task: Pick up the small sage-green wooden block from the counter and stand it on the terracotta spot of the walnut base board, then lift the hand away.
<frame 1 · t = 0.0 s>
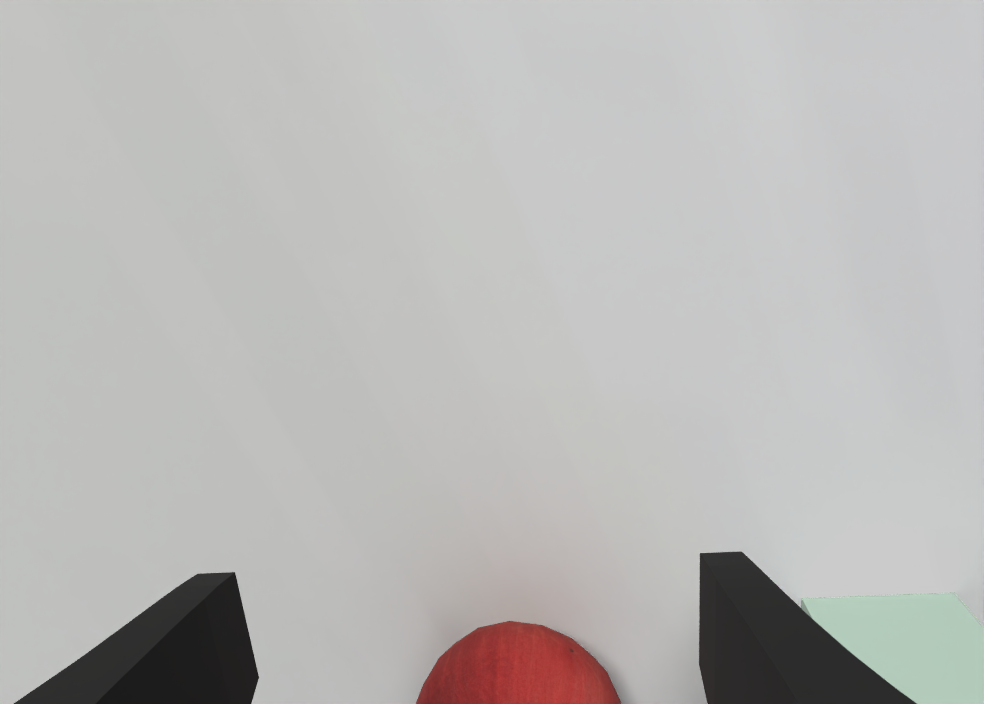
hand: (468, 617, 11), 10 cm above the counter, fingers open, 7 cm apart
onion: (519, 638, 24), on the counter
sage block: (871, 654, 23), on the counter
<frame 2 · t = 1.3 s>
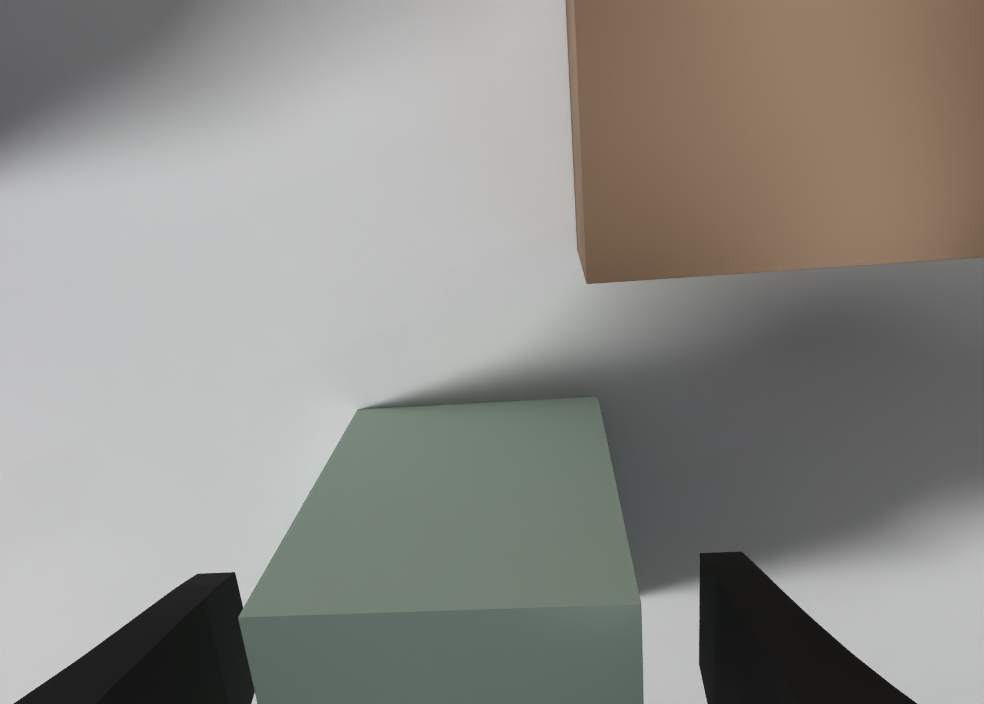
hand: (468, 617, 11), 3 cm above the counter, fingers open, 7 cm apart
sage block: (486, 508, 15), on the counter
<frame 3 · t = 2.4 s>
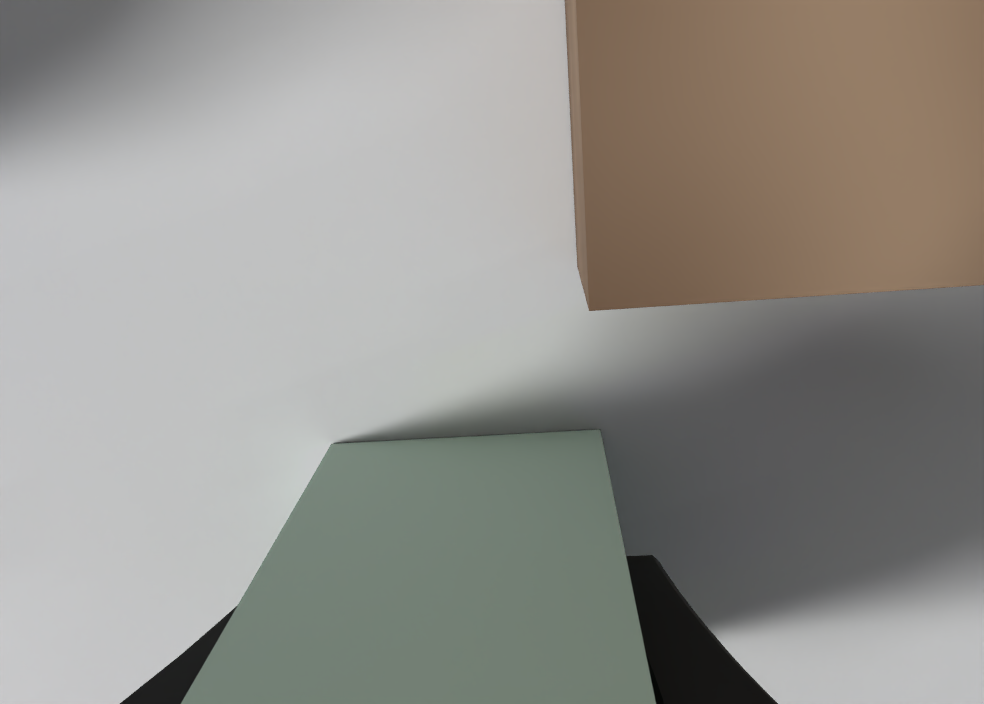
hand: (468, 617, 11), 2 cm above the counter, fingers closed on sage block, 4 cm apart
sage block: (476, 552, 13), on the counter, touching gripper
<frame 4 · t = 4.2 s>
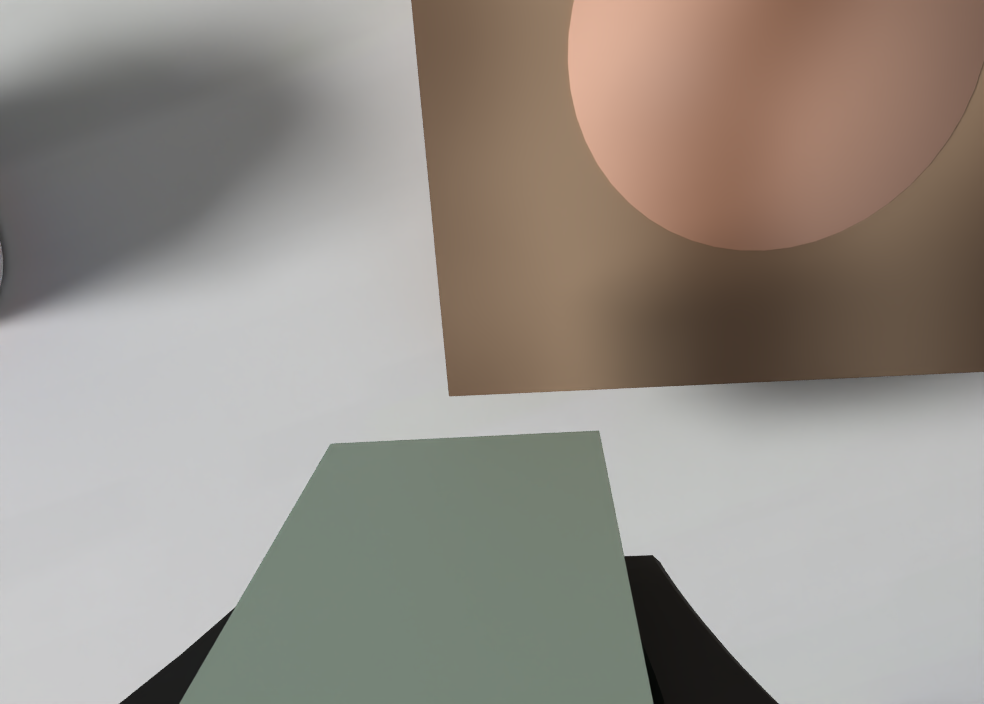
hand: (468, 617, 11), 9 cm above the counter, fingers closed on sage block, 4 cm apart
sage block: (474, 553, 13), point 7 cm above the counter, touching gripper
walnut base: (740, 53, 17), on the counter
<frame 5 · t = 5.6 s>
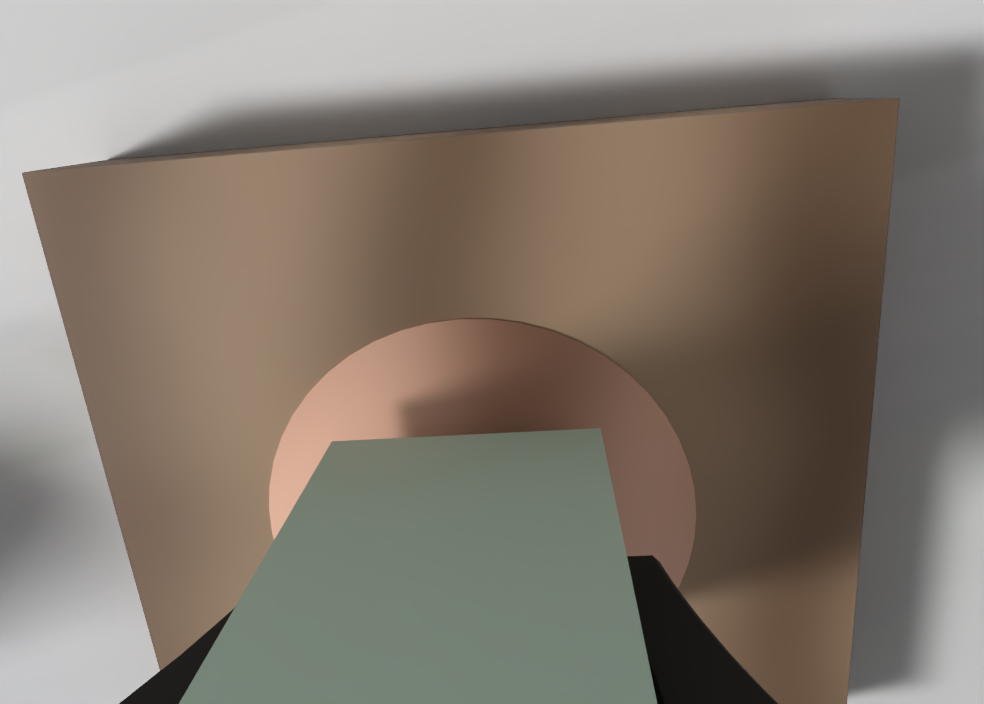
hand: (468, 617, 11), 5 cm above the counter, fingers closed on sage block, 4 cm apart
sage block: (475, 551, 13), point 3 cm above the counter, touching gripper
walnut base: (487, 461, 16), on the counter
when the fingers open (5 cm above the counter, at t = 6.3 s): sage block stays where it is, resting on walnut base.
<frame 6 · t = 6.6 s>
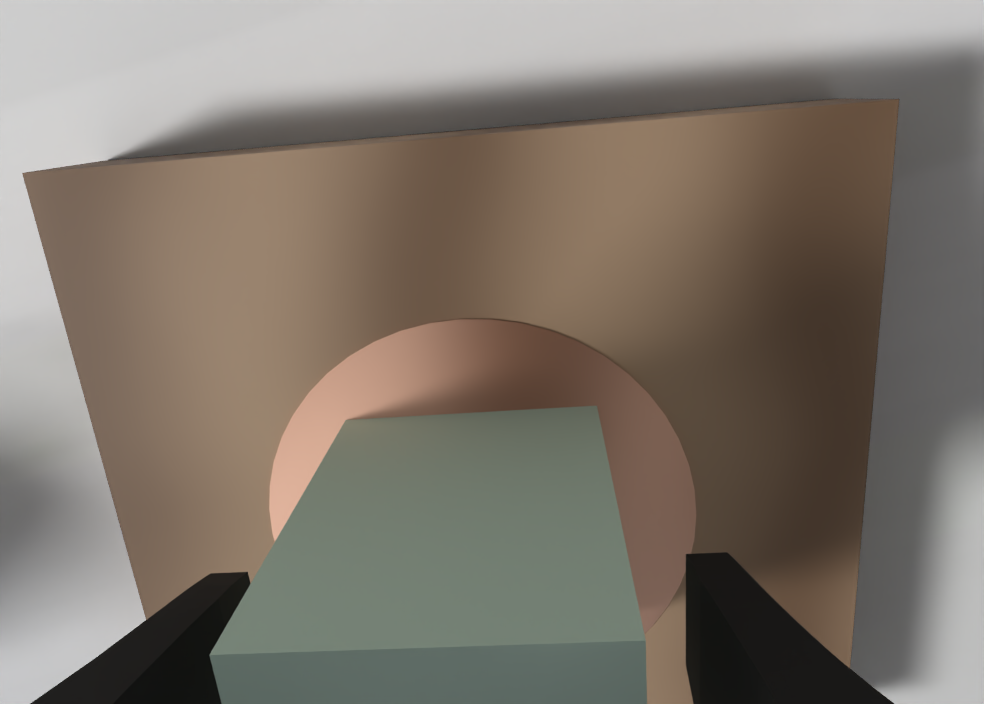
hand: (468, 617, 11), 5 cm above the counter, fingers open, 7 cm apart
sage block: (480, 522, 14), point 3 cm above the counter, touching walnut base
walnut base: (487, 461, 16), on the counter
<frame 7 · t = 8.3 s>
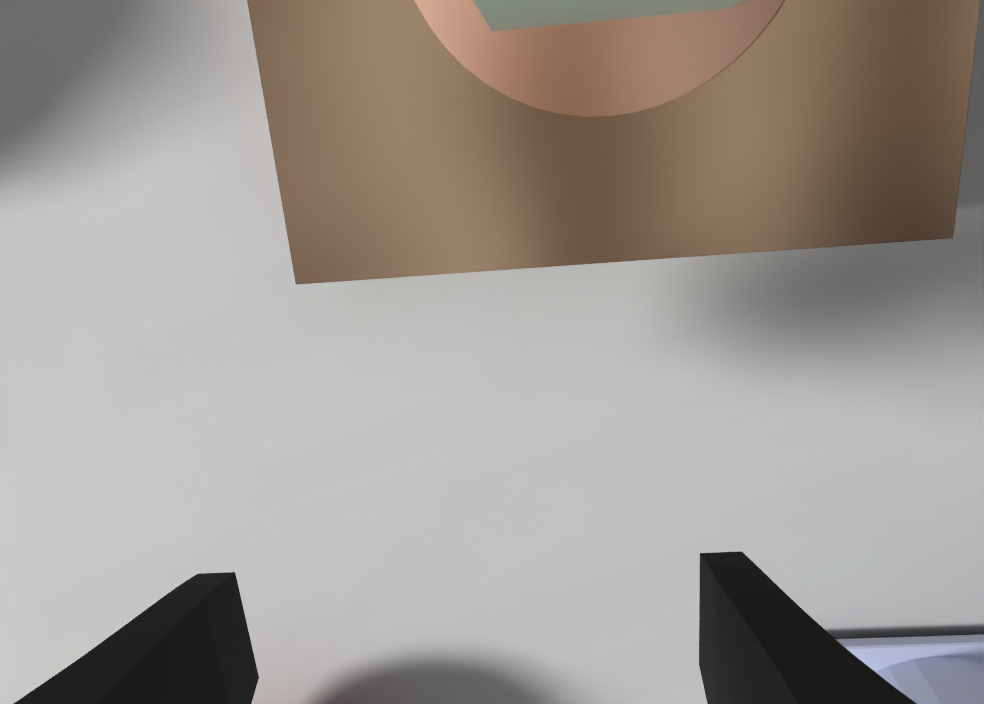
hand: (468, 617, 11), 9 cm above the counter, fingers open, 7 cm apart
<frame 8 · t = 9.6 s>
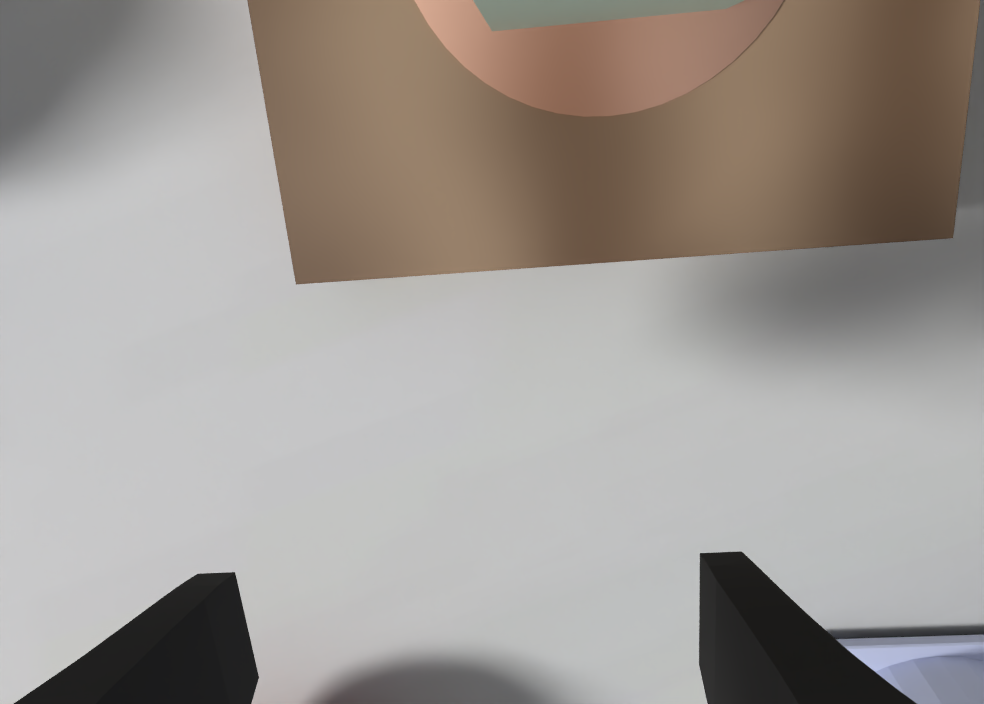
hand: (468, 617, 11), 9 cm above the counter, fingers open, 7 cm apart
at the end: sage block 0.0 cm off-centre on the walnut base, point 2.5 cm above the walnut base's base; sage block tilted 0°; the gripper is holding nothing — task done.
